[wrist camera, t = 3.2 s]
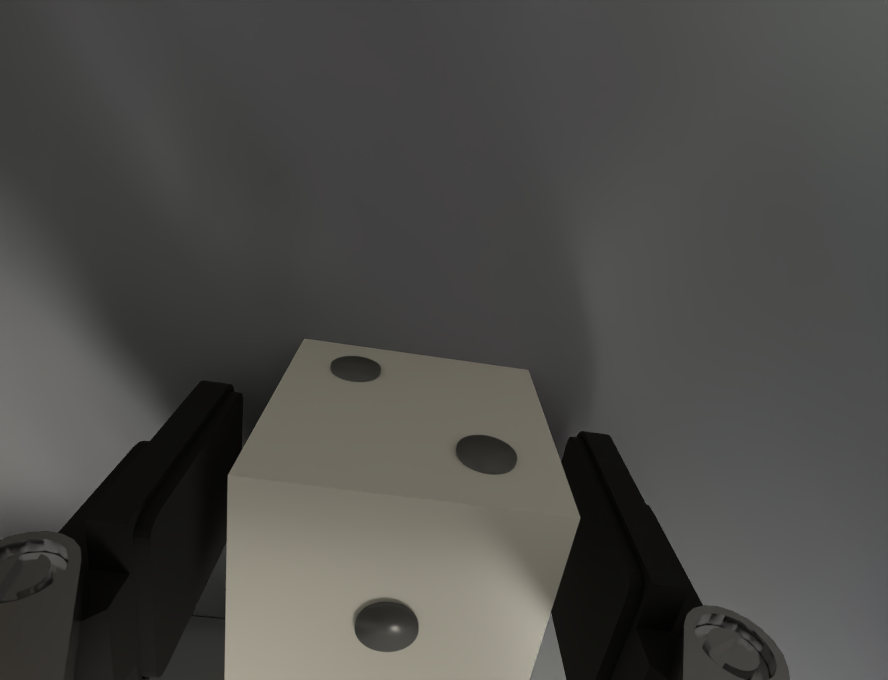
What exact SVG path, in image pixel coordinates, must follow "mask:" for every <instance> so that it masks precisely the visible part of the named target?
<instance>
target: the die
mask: <svg viewBox="0 0 888 680" xmlns="http://www.w3.org/2000/svg"><path fill="white" fill-rule="evenodd" d="M579 521H580V515H579V512H578V509H577V506H576V504H575V501H574V498H573V495H572V492H571V489H570V486H569V484H568V481H567V478H566V475H565V472H564V469H563V467H562V464H561V461H560V458H559V455H558V452H557V450H556V447H555V444H554V441H553V438H552V435H551V433H550V430H549V427H548V424H547V421H546V418H545V415H544V413H543V410H542V407H541V404H540V401H539V398H538V396H537V393H536V390H535V387H534V384H533V381H532V379H531V376H530V373H529V370H525V369H518V368H511V367H504V366H497V365H489V364H482V363H475V362H468V361H461V360H454V359H447V358H440V357H432V356H425V355H418V354H411V353H404V352H397V351H390V350H382V349H375V348H368V347H361V346H354V345H347V344H340V343H332V342H325V341H318V340H311V339H304V340H303V341H302V343H301V345H300V347H299V349H298V350H297V352H296V354H295V356H294V358H293V359H292V361H291V363H290V365H289V367H288V368H287V370H286V372H285V374H284V376H283V377H282V379H281V381H280V383H279V384H278V386H277V388H276V390H275V392H274V393H273V395H272V397H271V399H270V401H269V402H268V404H267V406H266V408H265V410H264V411H263V413H262V415H261V417H260V418H259V420H258V422H257V424H256V426H255V427H254V429H253V431H252V433H251V435H250V436H249V438H248V440H247V442H246V444H245V445H244V447H243V449H242V451H241V452H240V454H239V456H238V458H237V460H236V461H235V463H234V465H233V467H232V469H231V470H230V472H229V474H228V492H227V554H226V615H225V676H224V680H530V677H531V674H532V670H533V667H534V664H535V661H536V658H537V655H538V651H539V648H540V645H541V642H542V639H543V636H544V632H545V629H546V626H547V623H548V620H549V616H550V613H551V610H552V607H553V604H554V601H555V597H556V594H557V591H558V588H559V585H560V581H561V578H562V575H563V572H564V569H565V566H566V562H567V559H568V556H569V553H570V550H571V547H572V543H573V540H574V537H575V534H576V531H577V527H578V524H579Z"/></svg>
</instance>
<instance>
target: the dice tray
mask: <svg viewBox="0 0 888 680" xmlns="http://www.w3.org/2000/svg"><path fill="white" fill-rule="evenodd" d="M224 676H225V619H217V618H207V617H197V616H191V617H190V619H189V621H188V623H187V625H186V628H185V630H184V632H183V634H182V636H181V638H180V640H179V642H178V644H177V646H176V649H175V651H174V653H173V655H172V657H171V659H170V661H169V663H168V665H167V667H166V669H165V671H164V673H163V674H162V676H161V677H159V678H154V677H150V679H149V680H224Z"/></svg>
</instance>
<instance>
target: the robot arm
mask: <svg viewBox="0 0 888 680" xmlns="http://www.w3.org/2000/svg"><path fill="white" fill-rule="evenodd" d="M242 418H243V396H242V393H237V392H234V388H233V385H232V384H225V383H218V382H210V381H201V382H200V383H199V384H198V385H197V386H196V387H195V388H194V390H193V391H192V392H191V393H190V394H189V396H188V397H187V398H186V399H185V400H184V401H183V403H182V404H181V405H180V406H179V407H178V409H177V410H176V411H175V412H174V413H173V415H172V416H171V417H170V418H169V419H168V420H167V422H166V423H165V424H164V425H163V426H162V428H161V429H160V430H159V431H158V432H157V433H156V435H155V436H154V437H153V438H152V439H151V441H141V442H139V443H137V444H136V445H135V446H134V447H133V448H132V449H131V450H130V452H129V453H128V454H127V455H126V456H125V457H124V458H123V460H122V461H121V462H120V463H119V464H118V465H117V466H116V467H115V469H114V470H113V471H112V472H111V473H110V474H109V475H108V477H107V478H106V479H105V480H104V481H103V482H102V483H101V485H100V486H99V487H98V488H97V489H96V490H95V491H94V493H93V494H92V495H91V496H90V497H89V498H88V499H87V501H86V502H85V503H84V504H83V505H82V506H81V507H80V509H79V510H78V511H77V512H76V513H75V514H74V515H73V517H72V518H71V519H70V520H69V521H68V522H67V523H66V524H65V526H64V527H63V528H62V529H61V530H60V531H59V532H58V533H55V532H49V531H41V532H27V533H23V534H18V535H14V536H10V537H7V538H4V539H2V540H0V680H149V679H150V677H154V678H159V677H161V676H162V674H163V673H164V671H165V669H166V667H167V665H168V663H169V661H170V659H171V657H172V655H173V653H174V651H175V649H176V646H177V644H178V642H179V640H180V638H181V636H182V634H183V632H184V630H185V628H186V625H187V623H188V621H189V619H190V617H191V615H192V613H193V611H194V609H195V607H196V604H197V602H198V600H199V598H200V596H201V594H202V592H203V590H204V588H205V586H206V583H207V581H208V579H209V577H210V575H211V573H212V571H213V569H214V567H215V565H216V562H217V560H218V558H219V556H220V554H221V552H222V550H223V548H224V546H225V544H226V541H227V492H228V474H229V472H230V470H231V469H232V467H233V465H234V463H235V461H236V460H237V458H238V456H239V454H240V452H241V451H242ZM561 464H562V467H563V469H564V472H565V475H566V478H567V481H568V484H569V486H570V489H571V492H572V495H573V498H574V501H575V504H576V506H577V509H578V512H579V515H580V521H579V524H578V527H577V531H576V534H575V537H574V540H573V543H572V547H571V550H570V553H569V556H568V559H567V562H566V566H565V569H564V572H563V575H562V578H561V581H560V585H559V588H558V591H557V594H556V597H555V601H554V604H553V607H552V610H551V613H552V618H553V622H554V627H555V631H556V635H557V640H558V644H559V648H560V653H561V657H562V662H563V666H564V670H565V675H566V679H567V680H790V676H789V671H788V667H787V664H786V661H785V658H784V656H783V654H782V652H781V651H780V649H779V648H778V646H777V645H776V644H775V642H774V641H773V640H772V639H771V638H770V637H769V636H768V635H767V634H766V633H765V632H764V631H763V630H762V629H761V628H760V627H758V626H757V625H756V624H754V623H753V622H751V621H750V620H749V619H747V618H745V617H743V616H741V615H739V614H738V613H736V612H734V611H731V610H728V609H725V608H722V607H718V606H707V605H702V603H701V601H700V599H699V597H698V595H697V593H696V592H695V590H694V588H693V586H692V584H691V582H690V580H689V578H688V577H687V575H686V573H685V571H684V569H683V567H682V565H681V563H680V562H679V560H678V558H677V556H676V554H675V552H674V550H673V548H672V547H671V545H670V543H669V541H668V539H667V537H666V535H665V533H664V532H663V530H662V528H661V526H660V524H659V522H658V520H657V518H656V517H655V515H654V513H653V511H652V510H651V508H650V507H649V506H648V505H647V504H646V503H645V502H644V500H643V498H642V496H641V494H640V492H639V490H638V488H637V486H636V484H635V483H634V481H633V479H632V477H631V475H630V473H629V471H628V469H627V467H626V465H625V463H624V462H623V460H622V458H621V456H620V454H619V452H618V450H617V448H616V446H615V444H614V443H613V441H612V439H611V437H610V436H609V435H606V434H599V433H592V432H584V431H581V432H579V434H578V435H577V438H576V437H570V438H569V439H568V441H567V444H566V448H565V451H564V455H563V458H562V462H561Z"/></svg>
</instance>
